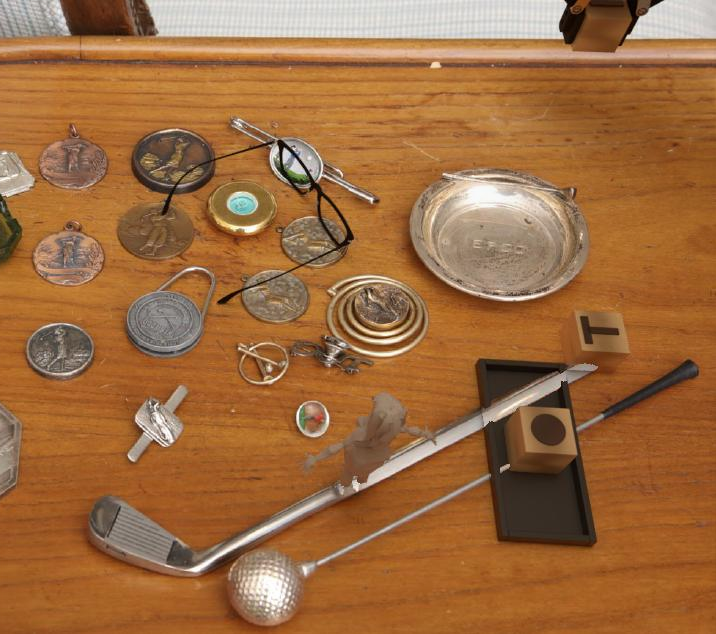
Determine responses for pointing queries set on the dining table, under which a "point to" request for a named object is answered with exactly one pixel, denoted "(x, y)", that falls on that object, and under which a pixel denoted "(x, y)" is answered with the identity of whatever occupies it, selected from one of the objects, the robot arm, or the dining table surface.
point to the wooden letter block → (595, 340)
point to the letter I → (602, 26)
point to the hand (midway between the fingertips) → (591, 35)
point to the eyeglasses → (314, 185)
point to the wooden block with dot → (539, 440)
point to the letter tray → (526, 489)
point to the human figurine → (370, 440)
